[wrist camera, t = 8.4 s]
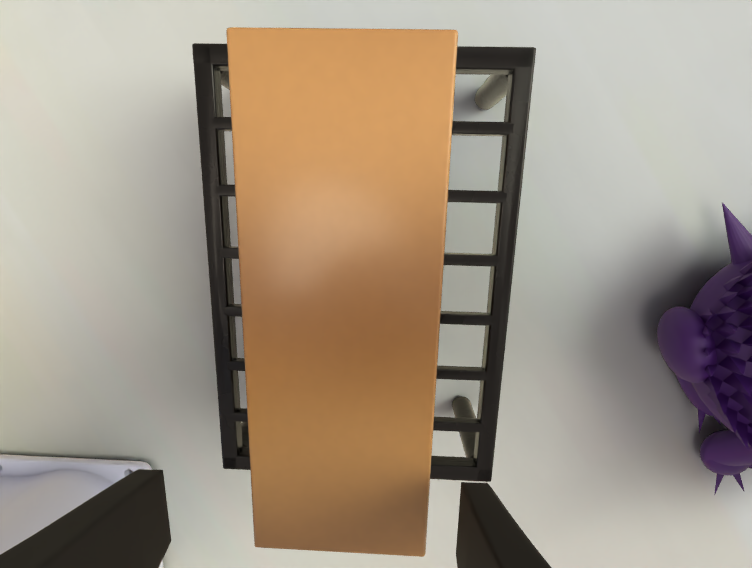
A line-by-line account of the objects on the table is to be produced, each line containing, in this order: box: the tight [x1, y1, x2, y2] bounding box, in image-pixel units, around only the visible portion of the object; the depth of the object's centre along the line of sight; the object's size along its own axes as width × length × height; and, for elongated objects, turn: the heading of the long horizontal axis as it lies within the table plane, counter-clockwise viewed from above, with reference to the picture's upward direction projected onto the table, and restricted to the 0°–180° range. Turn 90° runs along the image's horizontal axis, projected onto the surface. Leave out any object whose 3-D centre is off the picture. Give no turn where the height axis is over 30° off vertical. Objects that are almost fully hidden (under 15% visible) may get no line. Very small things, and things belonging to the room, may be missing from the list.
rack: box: [192, 43, 536, 482], centre depth 16 cm, size 10×15×5 cm
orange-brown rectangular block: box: [227, 28, 458, 557], centre depth 11 cm, size 12×4×4 cm, turn 179°
